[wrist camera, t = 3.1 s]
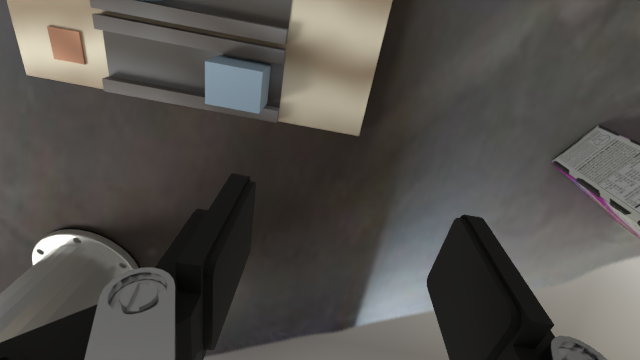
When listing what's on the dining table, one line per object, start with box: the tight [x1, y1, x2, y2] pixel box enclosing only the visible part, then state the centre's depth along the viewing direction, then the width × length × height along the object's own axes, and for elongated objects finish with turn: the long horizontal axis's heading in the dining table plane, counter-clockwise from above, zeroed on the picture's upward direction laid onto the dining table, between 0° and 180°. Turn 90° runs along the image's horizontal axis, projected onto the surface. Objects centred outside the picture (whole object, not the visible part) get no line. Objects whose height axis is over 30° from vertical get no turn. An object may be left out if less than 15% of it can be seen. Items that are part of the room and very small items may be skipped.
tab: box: [205, 55, 271, 114], centre depth 24 cm, size 3×4×3 cm
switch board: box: [7, 0, 393, 136], centre depth 24 cm, size 12×28×3 cm, turn 80°
